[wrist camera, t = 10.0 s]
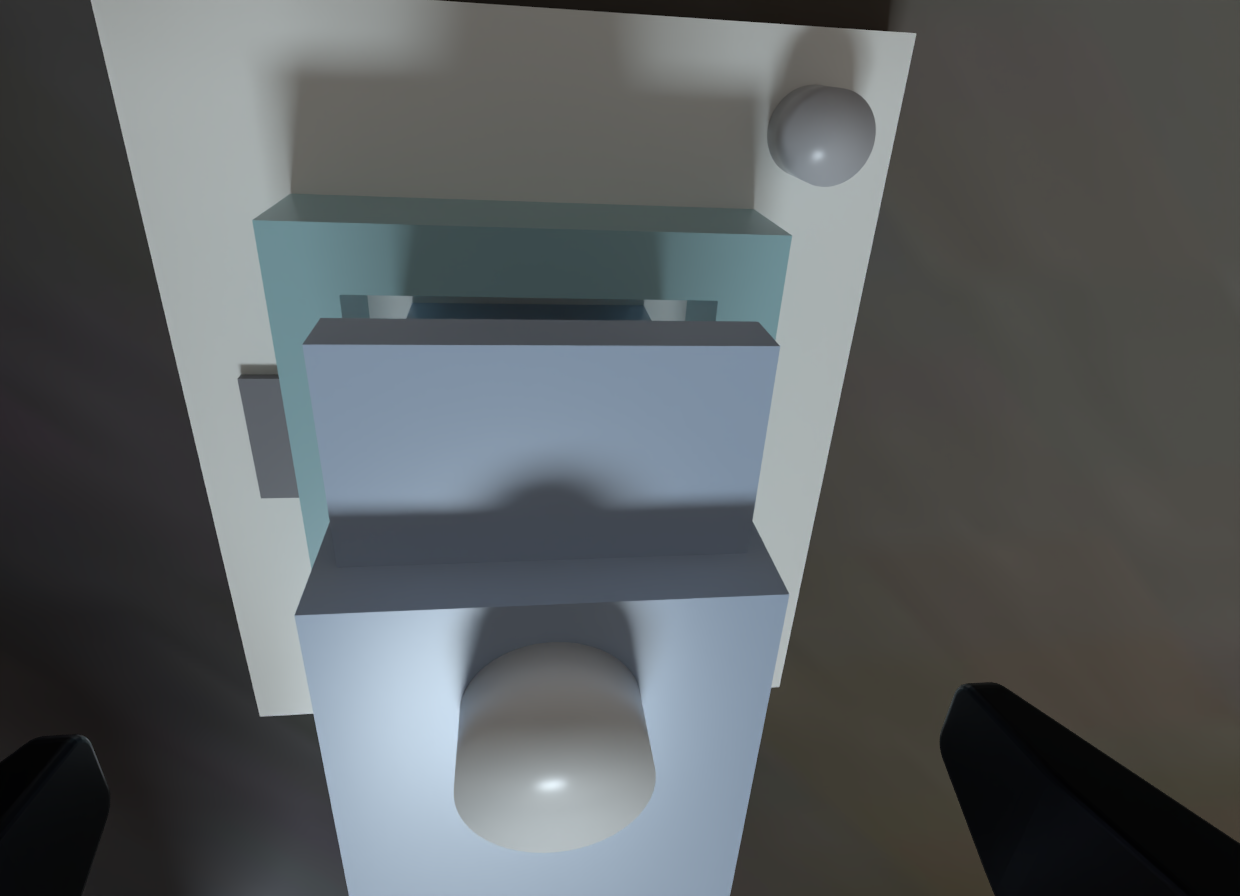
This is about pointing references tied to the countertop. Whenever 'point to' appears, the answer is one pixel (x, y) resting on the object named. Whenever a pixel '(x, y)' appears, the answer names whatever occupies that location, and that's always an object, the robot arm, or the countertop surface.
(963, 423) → the countertop surface
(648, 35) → the chassis plate
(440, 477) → the block
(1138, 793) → the robot arm
